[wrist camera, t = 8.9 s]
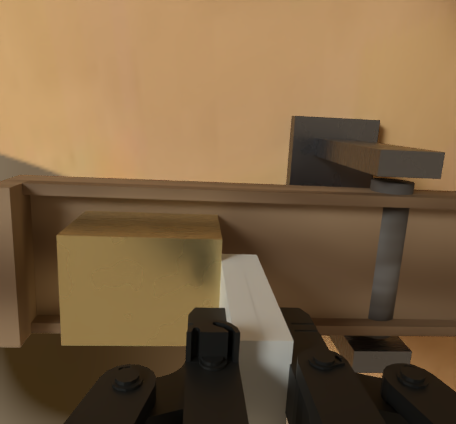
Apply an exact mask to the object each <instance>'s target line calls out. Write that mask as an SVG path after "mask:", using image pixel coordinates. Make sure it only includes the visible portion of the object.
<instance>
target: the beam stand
mask: <svg viewBox="0 0 456 424" xmlns="http://www.w3.org/2000/svg"><path fill="white" fill-rule="evenodd" d="M379 124H380V120H362V119H342V118H323V117H304V116H292V121H291V133H290V146H289V158H288V170H287V182H286V185H300V186H326V187H353V188H370V185H371V179H373V175H375V176H382V177H407V178H432V179H441V173H442V167H443V161H444V155H445V152H438V151H431V150H424V149H417V148H410V147H403V146H396V145H389V144H382V143H377V140H378V132H379ZM329 336H330V338H331V340H332V341H333V343H334V345H335V346H336V348H337V350H338V351H339V353H340V355H341V356H343V357H344V358H345V359H346V360H347V361H348V362H349V364H350V365H351V367H352V369H353V370H354V372H356V373H383V370H384V369H385V368H386V366H388V365H391V364H395V363H406V364H410V360H411V354H412V351H411V350H410V349H409V348H408V347H407V346H406V345H405V344H404V342H403V341H402V340H401V339H400V338H399V337H398V336H390V337H389V338H386V339H374V338H369V337H366V336H349V335H329Z"/></svg>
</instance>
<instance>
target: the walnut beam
mask: <svg viewBox="0 0 456 424" xmlns="http://www.w3.org/2000/svg"><path fill="white" fill-rule="evenodd" d="M414 185H415V183H413V182H410V181H405V180H398V179H387V178H374V179H371V185H370V188H353V187H326V186H300V185H274V184H248V183H222V182H195V181H169V180H143V179H117V178H90V177H64V176H36V175H18V176H15V177H12V178H9V179H6V180H3V181H0V347H21V346H22V344H23V343H24V342H25V341H26V339H27V338H28V337H29V335H30V334H31V333H61V325H60V303H59V281H58V260H57V238H56V235H57V234H59V233H60V232H61V231H62V230H63V229H65V228H66V227H67V226H68V225H69V224H71V223H72V222H73V221H74V220H75V219H76V218H78V217H79V216H80V215H81V214H82V213H84V212H85V211H111V212H144V213H177V214H209V215H218V220H219V225H220V230H221V235H222V254H250V255H257V257H258V259H259V261H260V264H261V266H262V268H263V271H264V273H265V275H266V278H267V280H268V282H269V285H270V287H271V289H272V292H273V294H274V296H275V299H276V301H277V303H278V306H279V307H288V308H300V309H302V310H303V311H304V312H306V313H307V314H309V315H310V317H311V319H312V321H313V323H314V325H315V326H316V328H317V330H318V332H319V333H320V335H349V336H366V337H369V338H374V339H386V338H389V337H390V336H456V191H431V190H414Z"/></svg>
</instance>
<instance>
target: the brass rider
mask: <svg viewBox="0 0 456 424" xmlns="http://www.w3.org/2000/svg"><path fill="white" fill-rule="evenodd" d="M56 238H57V260H58V281H59V303H60V325H61V345H68V346H71V345H72V346H79V345H80V346H186V332H187V330H188V314H189V313H190V312H191V311H192V310H193V309H194V308H195V307H199V308H219V301H220V280H221V260H222V235H221V230H220V225H219V220H218V215H209V214H177V213H144V212H111V211H85V212H84V213H82V214H81V215H80V216H79V217H78V218H76V219H75V220H74V221H73V222H72V223H71V224H69V225H68V226H67V227H66V228H65V229H63V230H62V231H61V232H60V233H59V234H57V235H56Z"/></svg>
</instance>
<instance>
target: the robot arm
mask: <svg viewBox="0 0 456 424" xmlns="http://www.w3.org/2000/svg"><path fill="white" fill-rule="evenodd" d="M286 418H287V420H288V423H289V424H456V392H455V391H454V390H452V389H451V388H450V387H449V386H447V385H446V384H445V383H443V382H442V381H441V380H440V379H438V378H437V377H436V376H434V375H433V374H431V373H430V372H428V371H426V370H425V369H422V368H419V367H417V366H415V365H412V364H406V363H395V364H391V365H388V366H386V368H385V369H384V370H383V376H382V378H378V377H373V376H368V375H363V374H359V373H356V372H354V370H353V369H352V367H351V365H350V364H349V362H348V361H347V360H346V359H345V358H344V357H343V356H341V355H339V354H338V353H336V352H333V351H330V350H329V349H328V347H327V346H326V344H325V342H324V340H323V339H322V337H321V335H320V333H319V332H318V330H317V328H316V326H315V325H314V323H313V321H312V319H311V317H310V315H309V314H307V313H306V312H304V311H303V310H302V309H300V308H288V307H279V306H278V303H277V301H276V299H275V296H274V294H273V292H272V289H271V287H270V285H269V282H268V280H267V278H266V275H265V273H264V271H263V268H262V266H261V264H260V261H259V259H258V257H257V255H250V254H222V260H221V280H220V301H219V308H199V307H195V308H194V309H193V310H192V311H191V312H190V313H189V314H188V330H187V332H186V361H185V363H184V365H183V366H182V367H181V368H180V369H179V370H177V371H176V372H174V373H171V374H169V375H166V376H162V377H157V378H156V376H155V374H154V372H153V371H151V370H150V369H149V368H147V367H144V366H141V365H131V364H127V365H121V366H117V367H114V368H112V369H110V370H108V371H106V372H105V373H104V374H103V375H102V376H101V377H100V378H99V379H98V381H96V383H95V384H94V386H93V387H92V388H91V389H90V391H89V392H88V393H87V394H86V396H85V397H84V398H83V399H82V401H81V402H80V403H79V405H78V406H77V407H76V409H75V410H74V411H73V412H72V414H71V415H70V416H69V418H68V419H67V420H66V421H65V423H64V424H286Z"/></svg>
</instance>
